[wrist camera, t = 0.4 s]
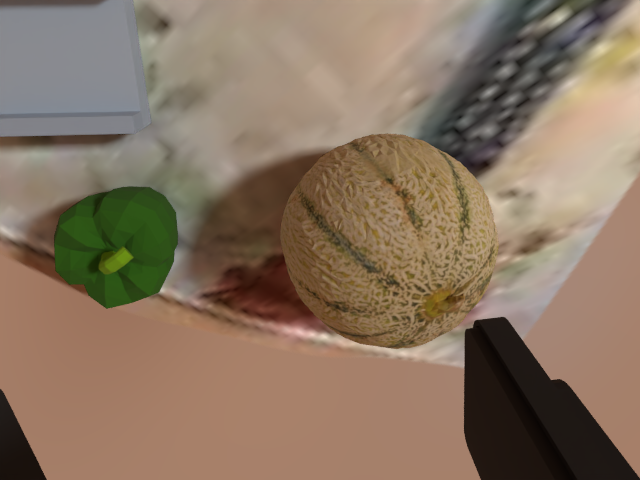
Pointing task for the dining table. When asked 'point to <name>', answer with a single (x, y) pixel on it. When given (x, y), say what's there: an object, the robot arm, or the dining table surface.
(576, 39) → the dining table surface
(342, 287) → the cantaloupe
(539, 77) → the dining table surface
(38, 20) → the cradle
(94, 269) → the bell pepper
